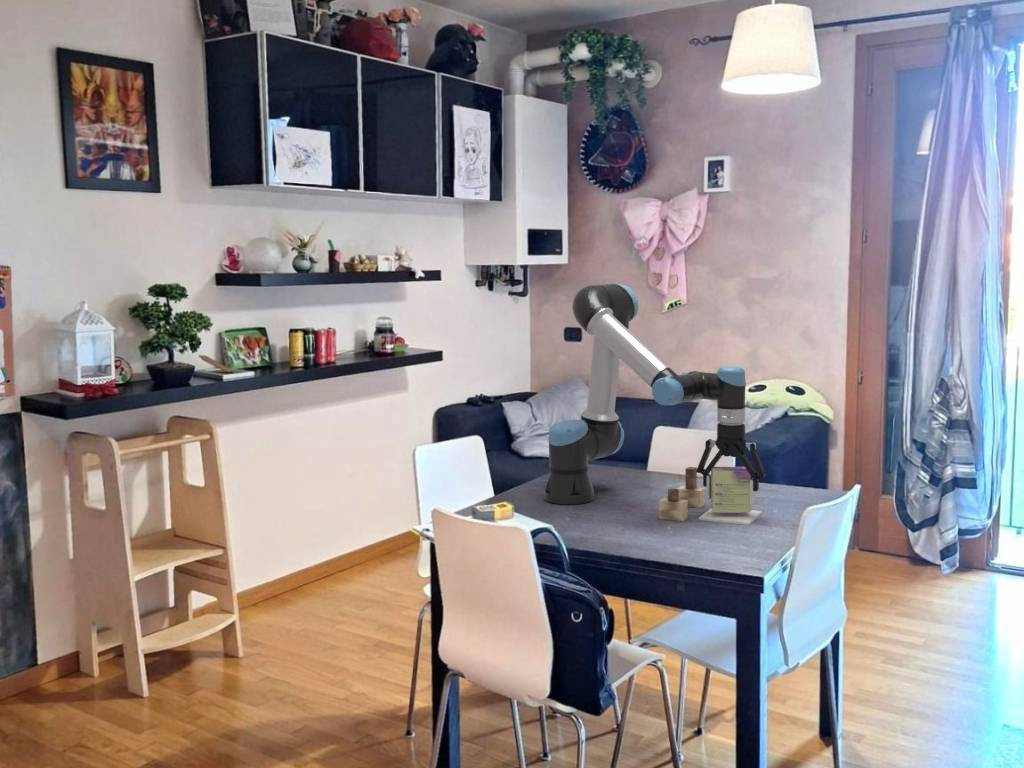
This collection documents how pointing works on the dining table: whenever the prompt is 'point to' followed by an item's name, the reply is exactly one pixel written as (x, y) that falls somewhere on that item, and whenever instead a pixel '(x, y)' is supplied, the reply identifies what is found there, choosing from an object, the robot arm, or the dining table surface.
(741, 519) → the pad
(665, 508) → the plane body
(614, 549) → the dining table surface
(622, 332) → the robot arm
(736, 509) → the box
